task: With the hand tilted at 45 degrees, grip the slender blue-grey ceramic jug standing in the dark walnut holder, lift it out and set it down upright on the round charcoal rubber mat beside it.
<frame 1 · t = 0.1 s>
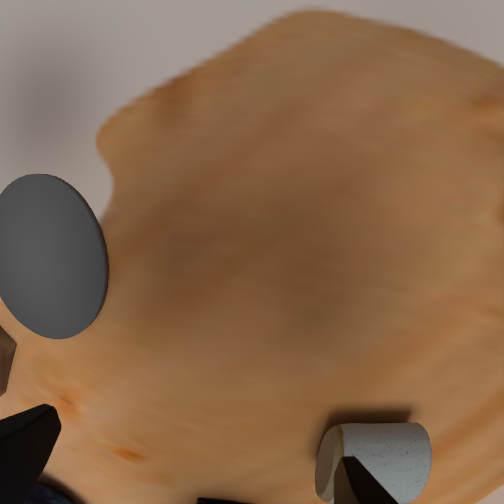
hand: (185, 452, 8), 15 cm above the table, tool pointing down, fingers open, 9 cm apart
decorative orb: (60, 495, 32), on the table
ceramic mug: (360, 444, 25), on the table
rubber mat: (40, 258, 23), on the table
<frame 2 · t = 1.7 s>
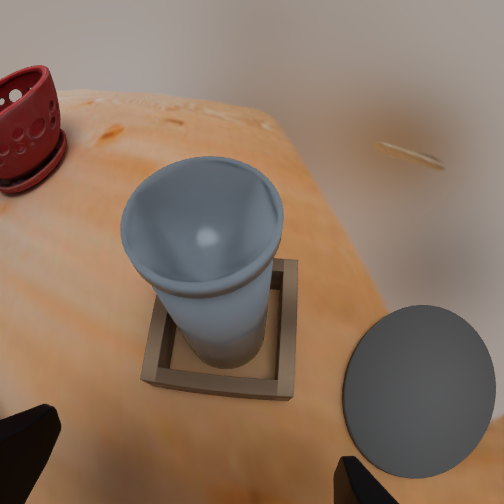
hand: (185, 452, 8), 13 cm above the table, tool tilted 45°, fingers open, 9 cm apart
jug holder: (226, 332, 24), on the table
jug: (219, 279, 18), in the jug holder
rubber mat: (426, 391, 21), on the table
plant pot: (36, 165, 34), on the table
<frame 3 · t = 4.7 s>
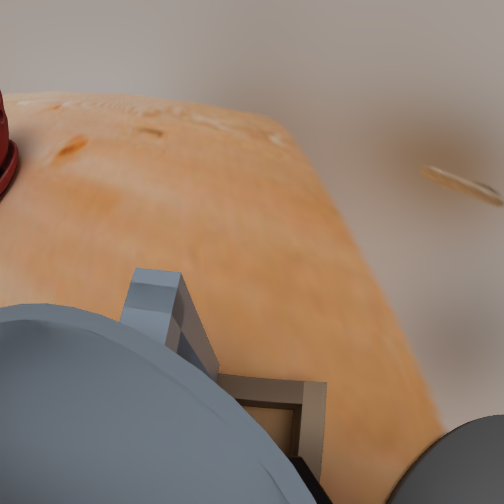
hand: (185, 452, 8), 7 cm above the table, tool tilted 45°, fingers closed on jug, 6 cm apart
jug holder: (209, 472, 13), on the table
jug: (181, 466, 8), in the jug holder, touching gripper
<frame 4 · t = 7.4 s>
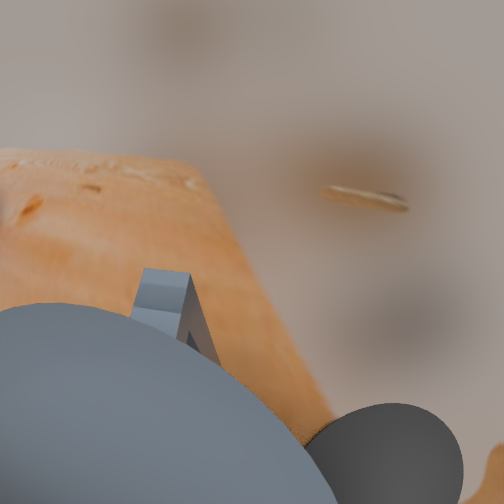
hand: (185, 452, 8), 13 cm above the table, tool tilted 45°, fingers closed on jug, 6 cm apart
jug: (183, 465, 8), point 13 cm above the table, touching gripper
rubber mat: (379, 493, 17), on the table
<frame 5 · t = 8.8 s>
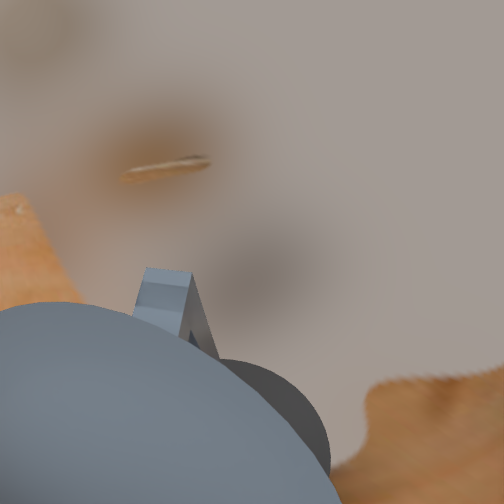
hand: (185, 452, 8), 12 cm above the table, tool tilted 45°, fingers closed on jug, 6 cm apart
jug: (184, 465, 8), point 12 cm above the table, touching gripper
rubber mat: (219, 461, 18), on the table
when the fingers open (8 cm above the table, at t = 10.0 s): jug stays where it is, resting on rubber mat.
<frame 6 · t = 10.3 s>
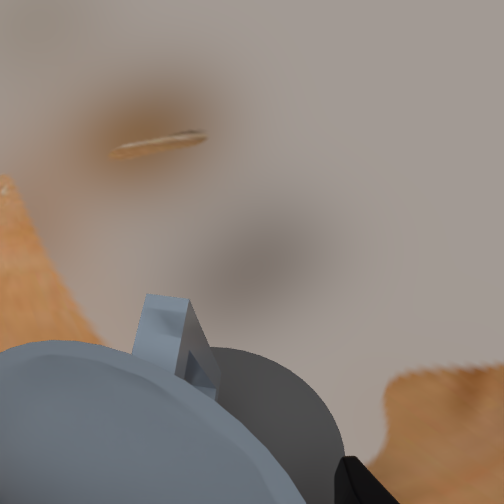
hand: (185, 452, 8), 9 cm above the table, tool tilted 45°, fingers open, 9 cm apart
jug: (186, 469, 8), on the rubber mat, point 8 cm above the table
rubber mat: (213, 468, 14), on the table
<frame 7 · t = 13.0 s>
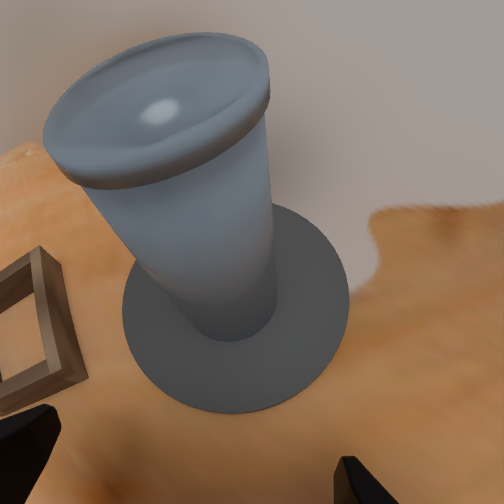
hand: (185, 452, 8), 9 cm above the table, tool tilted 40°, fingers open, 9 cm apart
jug holder: (26, 341, 19), on the table
jug: (204, 213, 13), on the rubber mat, point 8 cm above the table
rubber mat: (231, 298, 20), on the table
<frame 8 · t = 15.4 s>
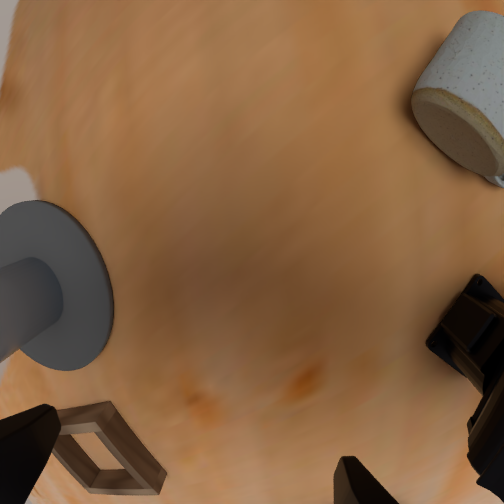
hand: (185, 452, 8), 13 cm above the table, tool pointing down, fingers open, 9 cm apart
ceramic mug: (469, 116, 17), on the table
jug holder: (103, 444, 25), on the table
rubber mat: (41, 288, 22), on the table
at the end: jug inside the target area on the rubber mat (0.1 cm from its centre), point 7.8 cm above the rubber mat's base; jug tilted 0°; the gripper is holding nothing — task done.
